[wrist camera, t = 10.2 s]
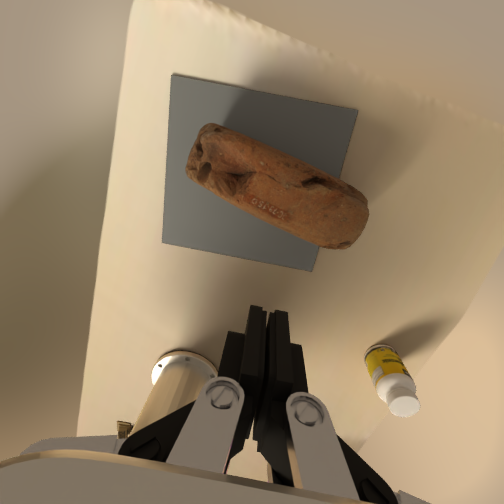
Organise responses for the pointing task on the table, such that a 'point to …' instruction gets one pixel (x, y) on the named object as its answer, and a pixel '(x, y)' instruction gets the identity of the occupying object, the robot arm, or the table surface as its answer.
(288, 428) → the robot arm
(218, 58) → the table surface
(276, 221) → the block
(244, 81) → the table surface
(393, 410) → the supplement bottle
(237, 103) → the mat
